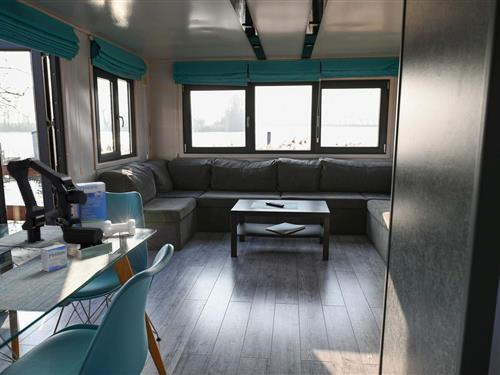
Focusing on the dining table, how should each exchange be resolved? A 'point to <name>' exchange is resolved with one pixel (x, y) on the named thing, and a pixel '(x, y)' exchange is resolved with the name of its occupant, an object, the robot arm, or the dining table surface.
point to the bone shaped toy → (119, 228)
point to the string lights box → (92, 205)
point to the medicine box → (54, 257)
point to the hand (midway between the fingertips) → (65, 236)
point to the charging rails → (88, 250)
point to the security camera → (83, 236)
